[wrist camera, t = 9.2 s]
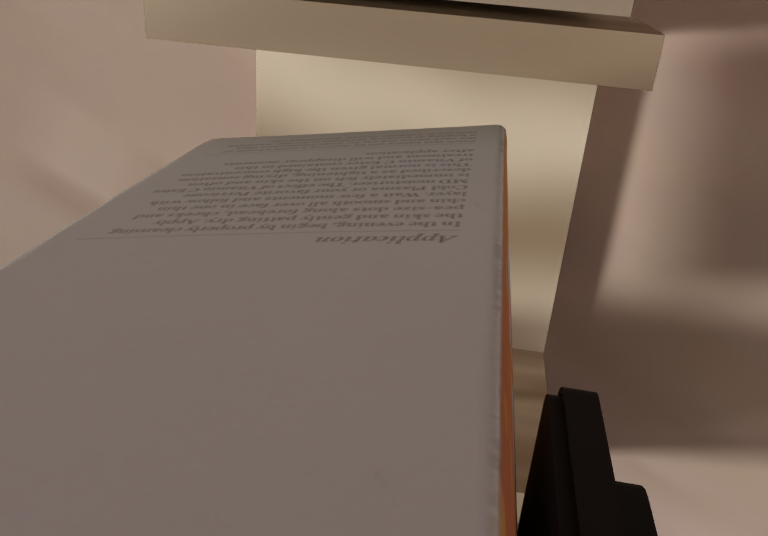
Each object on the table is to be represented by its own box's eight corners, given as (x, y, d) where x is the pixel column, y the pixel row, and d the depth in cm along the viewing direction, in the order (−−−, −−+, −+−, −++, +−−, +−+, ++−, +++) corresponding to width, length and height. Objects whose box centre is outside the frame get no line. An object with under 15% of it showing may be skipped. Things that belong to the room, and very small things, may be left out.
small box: (518, 453, 17) (539, 1596, 5) (264, 445, 18) (-193, 1367, 6) (513, 112, 14) (532, 1078, 2) (205, 129, 15) (-946, 803, 3)
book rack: (269, -185, 20) (61, -299, 10) (640, -160, 19) (768, -264, 9) (266, 406, 28) (149, 630, 19) (519, 448, 27) (525, 706, 18)
